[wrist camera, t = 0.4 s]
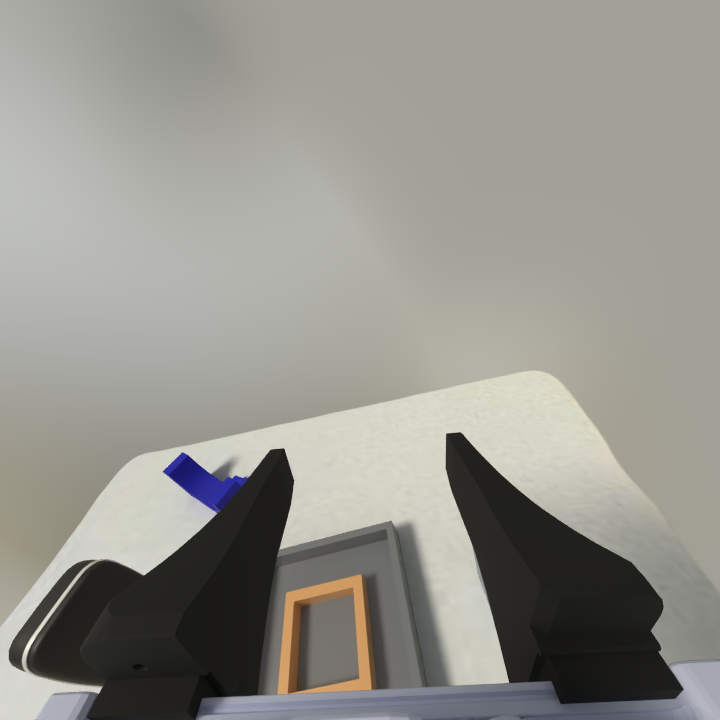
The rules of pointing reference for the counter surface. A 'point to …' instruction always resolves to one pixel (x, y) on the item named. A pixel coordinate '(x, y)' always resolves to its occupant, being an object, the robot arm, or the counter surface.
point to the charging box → (341, 617)
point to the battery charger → (69, 622)
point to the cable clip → (203, 482)
